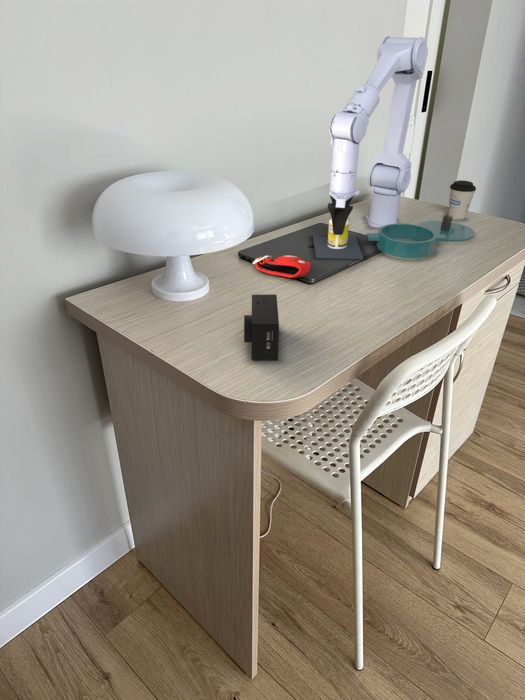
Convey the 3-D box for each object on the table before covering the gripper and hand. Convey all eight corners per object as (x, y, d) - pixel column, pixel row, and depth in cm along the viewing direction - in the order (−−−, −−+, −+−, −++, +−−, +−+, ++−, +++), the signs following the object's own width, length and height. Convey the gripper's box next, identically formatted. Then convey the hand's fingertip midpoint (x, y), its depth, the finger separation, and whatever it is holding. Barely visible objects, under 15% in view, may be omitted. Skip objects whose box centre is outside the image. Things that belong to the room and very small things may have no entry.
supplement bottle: (347, 243, 126) (351, 210, 121) (345, 250, 122) (349, 216, 118) (328, 241, 127) (331, 208, 122) (325, 248, 123) (328, 214, 119)
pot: (361, 239, 130) (363, 222, 128) (436, 240, 130) (439, 224, 127) (370, 259, 118) (372, 242, 116) (451, 261, 118) (455, 243, 116)
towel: (312, 237, 131) (312, 235, 130) (355, 238, 130) (355, 236, 130) (316, 258, 119) (316, 256, 119) (363, 259, 119) (363, 257, 118)
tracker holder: (293, 254, 118) (321, 258, 110) (291, 273, 119) (319, 278, 111) (249, 252, 111) (276, 256, 103) (248, 273, 112) (274, 278, 104)
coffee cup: (462, 214, 148) (470, 179, 143) (473, 221, 142) (482, 185, 137) (439, 215, 147) (446, 179, 142) (450, 222, 141) (457, 186, 136)
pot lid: (410, 224, 140) (413, 207, 138) (463, 225, 140) (467, 208, 138) (423, 243, 128) (426, 225, 125) (481, 244, 128) (486, 226, 125)
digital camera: (245, 328, 91) (244, 293, 87) (275, 328, 91) (276, 293, 87) (244, 361, 82) (243, 323, 78) (277, 360, 82) (279, 323, 78)
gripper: (361, 179, 108) (355, 240, 116) (361, 164, 120) (355, 220, 128) (328, 177, 109) (323, 238, 116) (331, 162, 121) (327, 218, 129)
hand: (338, 228), depth 122 cm, fingers open, 7 cm apart
